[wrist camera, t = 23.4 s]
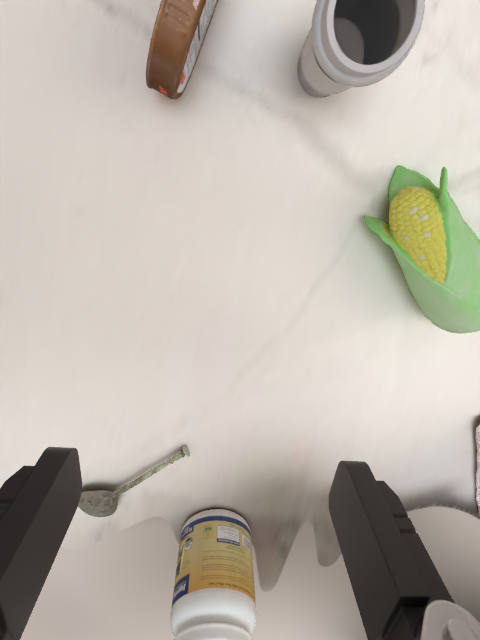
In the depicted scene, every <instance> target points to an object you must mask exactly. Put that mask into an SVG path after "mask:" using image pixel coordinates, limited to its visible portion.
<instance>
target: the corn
mask: <svg viewBox="0 0 480 640" xmlns="http://www.w3.org/2000/svg"><path fill="white" fill-rule="evenodd" d="M389 203H390V208H389V210H390V211H389V225H388V224H387V223H385V222H384V221H382V220H379V219H375V218H372V217H370V216H368V215H366V216H365V220H366V223H367V225H368V226H369V228H370V229H371V230H372V231H373V232H375V233H376V234H377V235H378V236H379V237H380V238H381V239H382V241H383V242H385V243H386V244H388V245H390V246H391V247H392V249H393V250H394V253H395V256H396V258H397V260H398V262H399V264H400V266H401V268H402V270H403V273H404V276H405V280H406V283H407V285H408V287H409V289H410V290H411V292H412V295H413V297H414V298H415V300H416V302H417V304H418V305H419V307H420V309H421V310H422V312H423V314H424V315H425V316H426V317H427V318H428V319H430V320H431V322H432V323H433V324H434V325H436V326H437V327H439V328H441V329H443V330H446V331H449V332H453V333H470V332H476V331H479V330H480V239H479V238H478V237H477V236H476V234H475V233H474V232H473V231H472V229H471V228H470V227H469V226H468V225H467V224H466V223H465V221H464V220H463V219H462V217H461V214H460V212H459V210H458V208H457V206H456V204H455V203H454V201H453V200H452V198H451V197H450V195H449V193H448V190H447V170H446V168H445V167H443V169H442V172H441V177H440V188H439V189H438V188H437V187H436V186H435V185H434V184H433V183H432V182H431V181H430V180H429V179H428V178H426V177H425V176H423V175H421V174H419V173H417V172H415V171H412V170H409V169H406V168H404V167H402V166H397V168H396V169H395V172H394V175H393V178H392V181H391V184H390V188H389Z"/></svg>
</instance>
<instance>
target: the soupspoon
mask: <svg viewBox="0 0 480 640" xmlns="http://www.w3.org/2000/svg"><path fill="white" fill-rule="evenodd" d="M185 455H186V456H190V453H189V451H188V449H187V448H186V447H185V446H184V445H183V446H182V450H179V452H178V453H177V454H175V455H174V456H173V457H172V458H169V460H167V461H166V462H164V463H162V464H160V465H159V466H157V467H155V468H154V469H152V470H150V471H149V472H147V473H145V474H144V475H142V476H140V477H139V478H137V479H136V480H134V481H132V482H130V483H128V484H127V485H125V486H123V487H121V488H119V489H117V490H115V491H106V490H97V491H85V492H81V497H80V501H79V504H78V507H79V508H80V509H81V510H82V511H84V512H85V513H87V514H89V515H91V516H95V517H106V516H109V515H112V514H113V513H114V512H115V511H116V509H117V505H118V499H117V496H118V495H119V494H121V493H123V492H125V491H127V490H129V489H130V488H132V487H134V486H135V485H137V484H139V483H140V482H142V481H143V480H145V479H146V478H148V477H150V476H151V475H153V474H154V473H156V472H158V471H159V470H161V469H162V468H164V467H165V466H167V465H168V464H170V463H171V464H173V462H174V461H175V460H178V459H180V458H181V457H184V456H185Z"/></svg>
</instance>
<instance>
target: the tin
mask: <svg viewBox="0 0 480 640" xmlns="http://www.w3.org/2000/svg"><path fill="white" fill-rule="evenodd" d="M217 2H218V0H162V1H161V5H160V8H159V11H158V15H157V18H156V22H155V26H154V30H153V34H152V38H151V43H150V49H149V54H148V60H147V68H146V82H147V86H148V87H149V88H151V89H152V88H153V89H155V90H157V91H159V92H160V93H162V94H164V95H165V96H167V97H169V98H171V99H177V98H179V97H180V96H181V95H182V93H183V92H184V90H185V88H186V85H187V83H188V81H189V78H190V76H191V73H192V71H193V68H194V65H195V63H196V60H197V57H198V54H199V51H200V49H201V46H202V43H203V41H204V38H205V35H206V32H207V30H208V27H209V24H210V22H211V19H212V16H213V13H214V10H215V8H216V5H217Z"/></svg>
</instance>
